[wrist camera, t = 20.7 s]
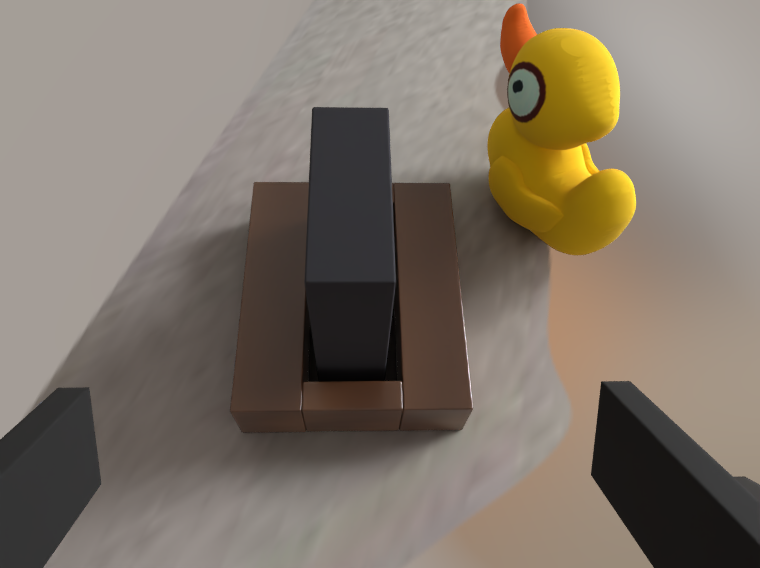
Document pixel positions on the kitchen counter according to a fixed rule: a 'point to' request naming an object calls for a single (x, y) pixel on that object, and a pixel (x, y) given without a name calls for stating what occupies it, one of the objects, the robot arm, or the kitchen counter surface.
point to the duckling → (558, 138)
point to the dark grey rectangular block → (350, 243)
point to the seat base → (292, 324)
